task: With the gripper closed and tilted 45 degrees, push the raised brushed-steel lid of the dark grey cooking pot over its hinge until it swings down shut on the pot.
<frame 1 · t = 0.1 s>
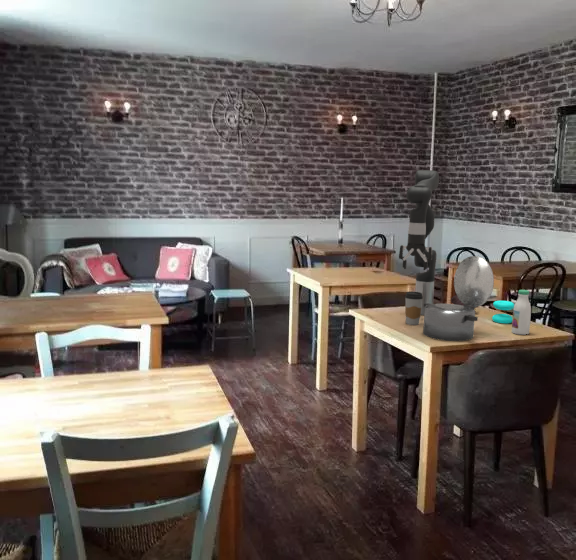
hand: (414, 269, 287), 29 cm above the table, tool pointing down, fingers open, 8 cm apart
lid: (474, 282, 295), point 23 cm above the table, hinge at 95.0°
pine cone: (464, 311, 342), on the table
cooking pot: (447, 334, 292), on the table
donuts: (502, 322, 320), on the table
coffee cup: (412, 324, 312), on the table
milk bottle: (520, 333, 298), on the table
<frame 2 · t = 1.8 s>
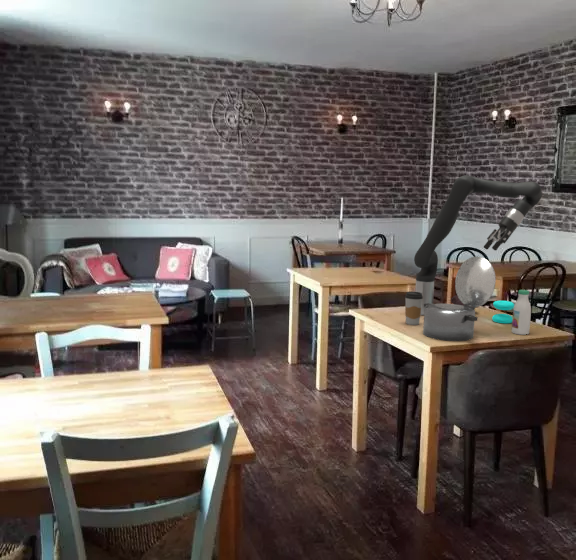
hand: (489, 248, 294), 38 cm above the table, tool tilted 40°, fingers open, 8 cm apart
lid: (476, 282, 296), point 23 cm above the table, hinge at 99.9°
everything else where it was.
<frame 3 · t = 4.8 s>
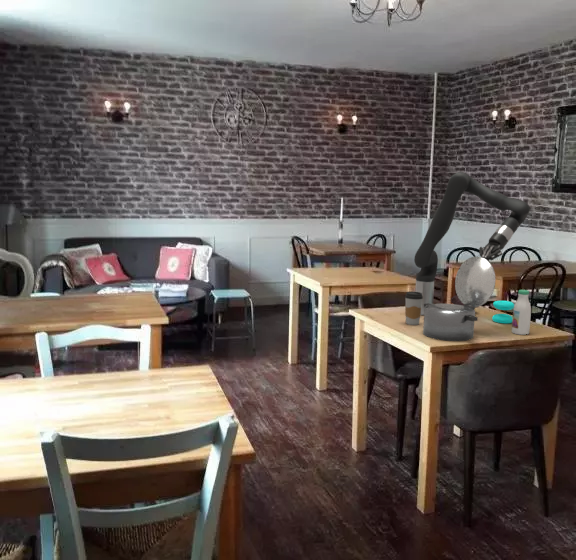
hand: (480, 265, 295), 31 cm above the table, tool tilted 45°, fingers closed
lid: (475, 282, 295), point 23 cm above the table, hinge at 99.5°, touching gripper
everything else where it was.
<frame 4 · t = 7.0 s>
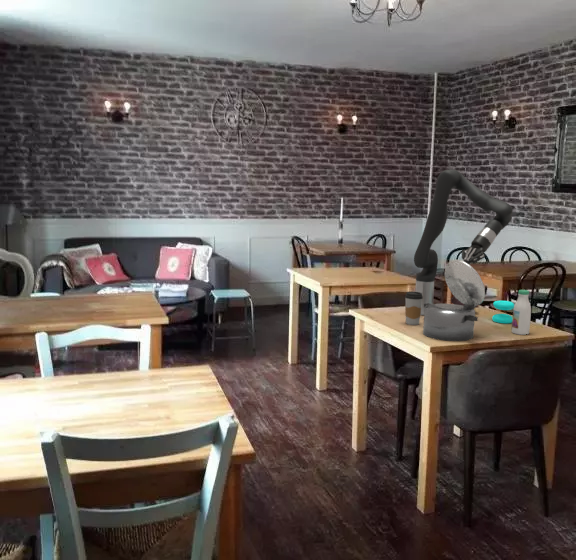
hand: (462, 268, 290), 30 cm above the table, tool tilted 45°, fingers closed
lid: (465, 283, 292), point 23 cm above the table, hinge at 67.2°, touching gripper
everything else where it was.
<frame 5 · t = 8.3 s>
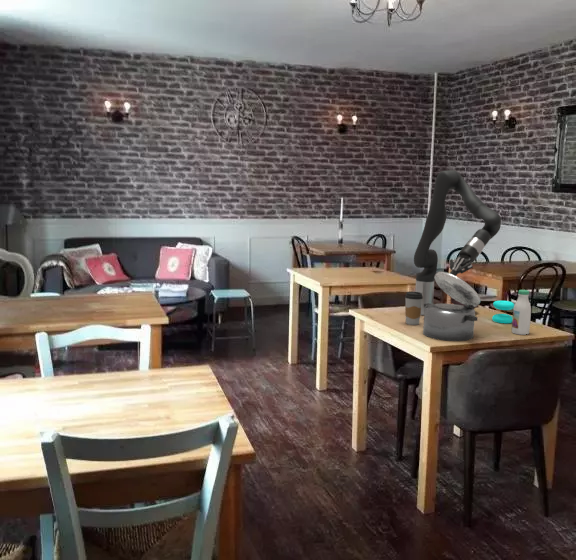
hand: (450, 278, 287), 26 cm above the table, tool tilted 45°, fingers closed
lid: (458, 288, 291), point 21 cm above the table, hinge at 43.3°, touching gripper
everything else where it was.
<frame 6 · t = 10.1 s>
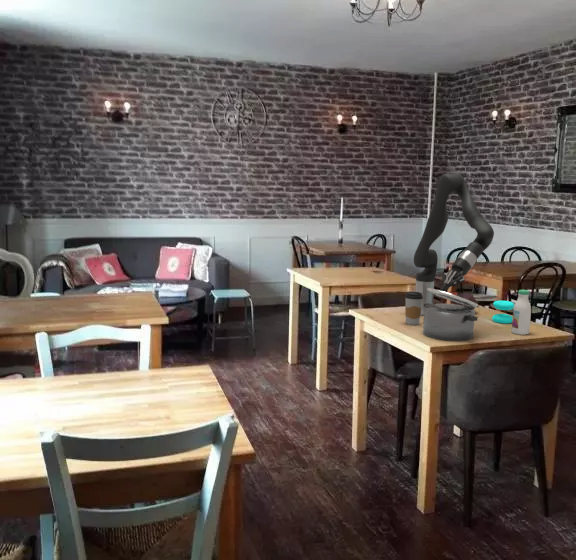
hand: (442, 291, 286), 20 cm above the table, tool tilted 45°, fingers closed
lid: (453, 296, 290), point 18 cm above the table, hinge at 20.7°
everything else where it was.
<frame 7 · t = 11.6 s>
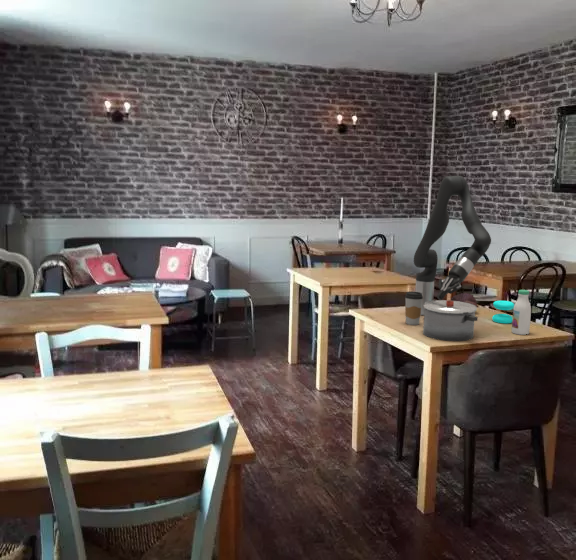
hand: (438, 298, 286), 17 cm above the table, tool tilted 45°, fingers closed
lid: (450, 304, 290), point 14 cm above the table, hinge at -0.2°
everything else where it was.
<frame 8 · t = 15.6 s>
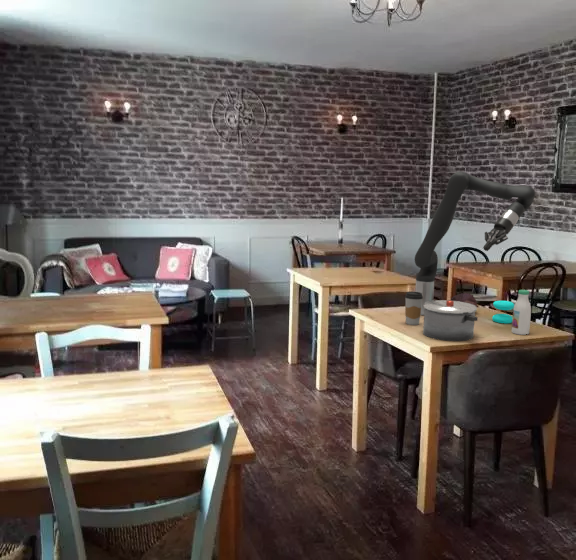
hand: (485, 249, 295), 38 cm above the table, tool tilted 45°, fingers closed
nothing on the table moved.
at the end: lid at +0° (first picture: +95°) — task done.
